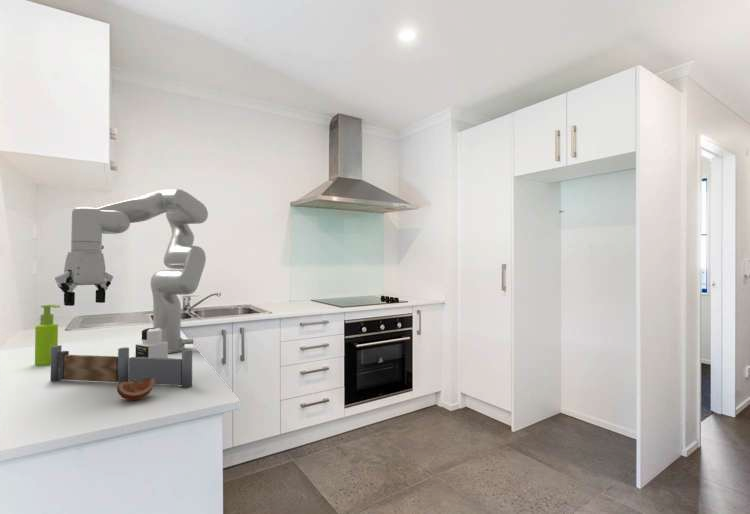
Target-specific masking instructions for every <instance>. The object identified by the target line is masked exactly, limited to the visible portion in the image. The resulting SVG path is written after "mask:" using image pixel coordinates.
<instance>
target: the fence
mask: <svg viewBox="0 0 750 514" xmlns="http://www.w3.org/2000/svg"><path fill="white" fill-rule="evenodd" d="M62 346H63V345H61V344H58V345H57V346H51V364H50V381H49V382H51V383H53V382H60V381H61V380H58V352H61V351H62ZM117 351H118V352H117V356H118V382H117V383H120V382H128V381H137V382H139V381H141V380H143V379H148V378H155V385H164V386H166V385H167V386H181V388H182V389H189V388H192V387H193V349H184V350H182V351H181V358H171V357H169V358H147V357H136V356H132V357H130V347H120V348H118V349H117Z"/></svg>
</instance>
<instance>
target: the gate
mask: <svg viewBox="0 0 750 514" xmlns="http://www.w3.org/2000/svg"><path fill="white" fill-rule="evenodd" d="M69 353H70V351H69V350H61V352H58V380H60V381H78V382H79V381H80V382H81V381H82V382H83V381H84V382H85V381H86V382H101V383H102V382H104V383H106V382H107V383H118V355H117V356H113V355H89V354H85V355H84V354H69Z"/></svg>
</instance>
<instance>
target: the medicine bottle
mask: <svg viewBox="0 0 750 514" xmlns="http://www.w3.org/2000/svg"><path fill="white" fill-rule="evenodd" d="M161 340H162V329H160V328H153V327H149V328H145V329H143V330H142V331H141V342H137V343H135V357H147V358H168V357H169V353H168V342H164V341H161Z"/></svg>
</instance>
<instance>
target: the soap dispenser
mask: <svg viewBox="0 0 750 514" xmlns="http://www.w3.org/2000/svg"><path fill="white" fill-rule="evenodd" d="M60 307H61V305H59V304H45V305H40V308H43V314H41V315H40V321H39V323H40V324H37V325H35V327H34V328H35V332H34V333H35V335H34V336H35V337H34V340H35V341H34V366H36V367H37V366H39V367H40V366H51V346H57V345H59V343H58V340H59V335H58V334H59V324H58V323H54V314H53V313H51V308H54V309H57V308H60Z"/></svg>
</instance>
